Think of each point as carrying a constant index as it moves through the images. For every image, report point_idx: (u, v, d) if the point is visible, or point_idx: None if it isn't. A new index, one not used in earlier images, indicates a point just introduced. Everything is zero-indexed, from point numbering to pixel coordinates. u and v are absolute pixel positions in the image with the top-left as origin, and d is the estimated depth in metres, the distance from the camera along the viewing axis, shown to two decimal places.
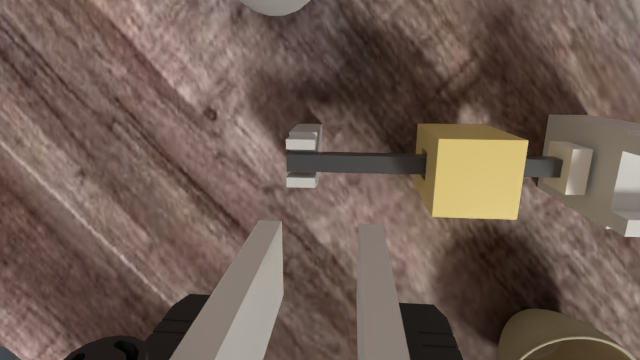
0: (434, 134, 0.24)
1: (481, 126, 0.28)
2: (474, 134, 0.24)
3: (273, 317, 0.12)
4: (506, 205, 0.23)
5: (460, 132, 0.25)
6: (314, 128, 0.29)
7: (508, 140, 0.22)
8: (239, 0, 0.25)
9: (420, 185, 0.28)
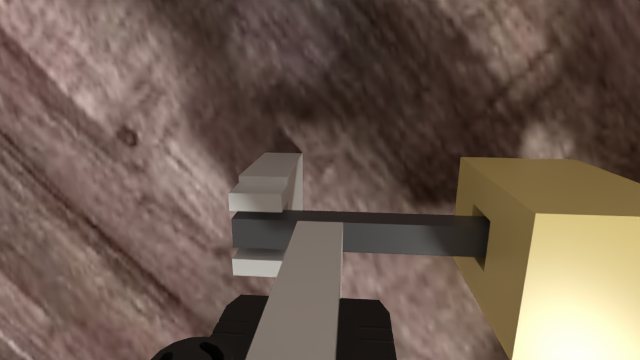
0: (513, 194, 0.12)
1: (576, 165, 0.16)
2: (592, 193, 0.12)
3: None
4: None
5: (558, 186, 0.13)
6: (286, 165, 0.17)
7: None
8: None
9: (470, 269, 0.16)
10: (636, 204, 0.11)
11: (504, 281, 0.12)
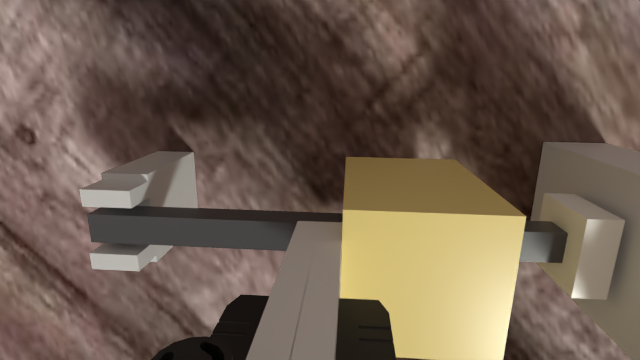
0: (347, 191, 0.12)
1: (446, 165, 0.16)
2: (423, 191, 0.13)
3: None
4: (481, 338, 0.12)
5: (400, 184, 0.13)
6: (162, 163, 0.18)
7: (484, 214, 0.11)
8: None
9: None
10: (451, 202, 0.12)
11: None
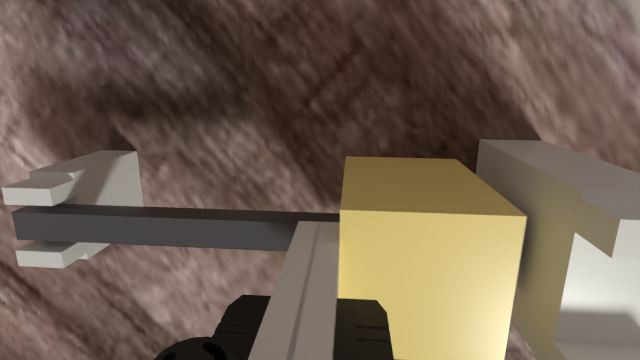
0: (345, 191, 0.12)
1: (447, 164, 0.16)
2: (422, 191, 0.12)
3: None
4: (482, 339, 0.11)
5: (400, 184, 0.13)
6: (97, 162, 0.18)
7: (484, 214, 0.10)
8: None
9: None
10: (450, 201, 0.11)
11: None
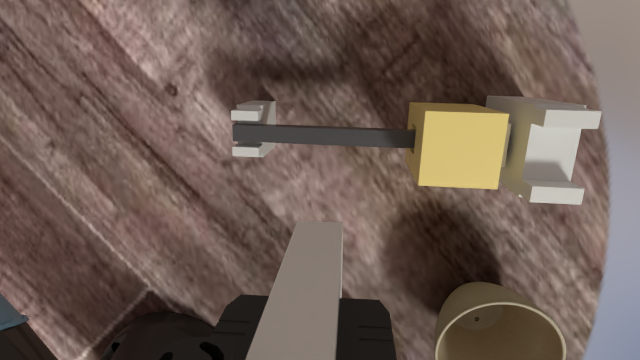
0: (422, 108, 0.25)
1: (469, 105, 0.29)
2: (460, 109, 0.25)
3: None
4: (487, 175, 0.24)
5: (447, 108, 0.26)
6: (263, 103, 0.31)
7: (490, 113, 0.23)
8: None
9: (410, 159, 0.29)
10: (474, 111, 0.24)
11: (418, 150, 0.26)
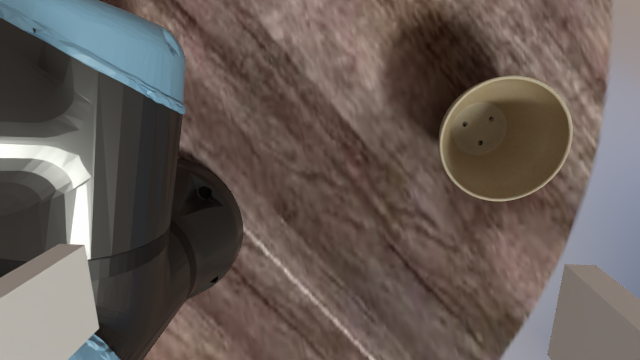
0: None
1: None
2: None
3: None
4: None
5: None
6: None
7: None
8: None
9: None
10: None
11: None
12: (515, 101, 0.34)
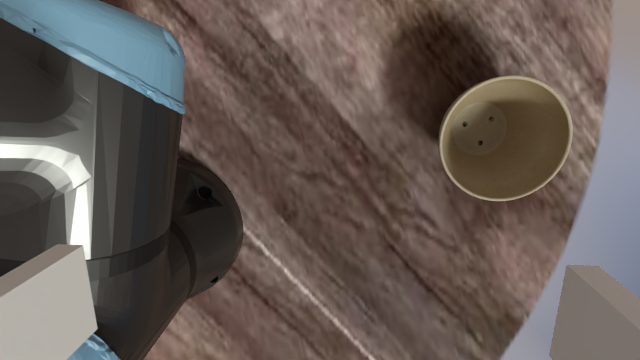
0: None
1: None
2: None
3: None
4: None
5: None
6: None
7: None
8: None
9: None
10: None
11: None
12: (515, 101, 0.34)
